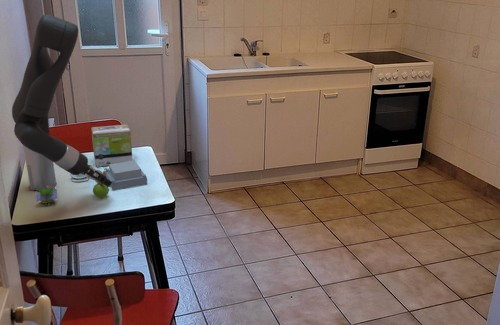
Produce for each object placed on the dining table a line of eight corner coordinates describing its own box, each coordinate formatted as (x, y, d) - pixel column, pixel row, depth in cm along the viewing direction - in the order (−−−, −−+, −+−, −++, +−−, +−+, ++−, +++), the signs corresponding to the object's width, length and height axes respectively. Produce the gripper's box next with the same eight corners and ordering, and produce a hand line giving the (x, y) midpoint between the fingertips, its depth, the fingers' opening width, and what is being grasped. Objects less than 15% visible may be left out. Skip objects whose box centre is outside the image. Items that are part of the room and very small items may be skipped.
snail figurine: (102, 202, 171) (99, 170, 166) (90, 198, 174) (86, 166, 169) (114, 196, 175) (111, 165, 170) (102, 192, 178) (98, 162, 174)
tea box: (96, 168, 200) (92, 133, 195) (94, 159, 209) (90, 126, 204) (133, 163, 205) (130, 130, 200) (129, 155, 214) (127, 123, 209)
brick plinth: (112, 190, 180) (111, 175, 178) (105, 177, 191) (104, 163, 189) (147, 184, 185) (146, 169, 183) (138, 172, 196) (137, 158, 194)
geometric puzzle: (57, 203, 165) (55, 180, 167) (36, 205, 163) (33, 183, 165) (59, 207, 172) (56, 185, 174) (38, 210, 169) (36, 188, 171)
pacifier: (89, 182, 187) (91, 176, 193) (87, 167, 185) (89, 161, 190) (69, 183, 186) (72, 177, 192) (67, 168, 184) (69, 162, 189)
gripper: (87, 155, 157) (122, 178, 170) (65, 144, 167) (100, 167, 179) (74, 175, 156) (110, 197, 168) (53, 163, 165) (89, 185, 177)
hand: (105, 181), depth 174 cm, fingers closed on snail figurine, 5 cm apart
